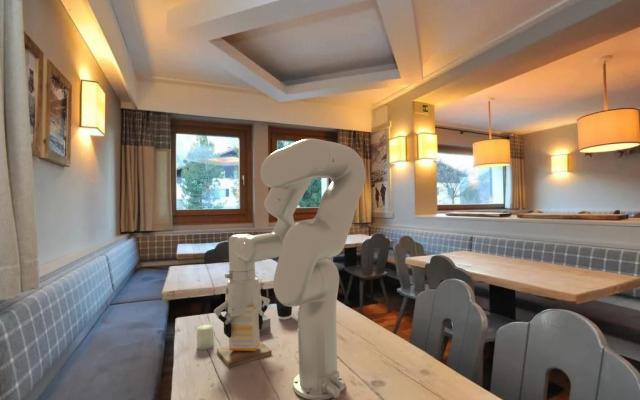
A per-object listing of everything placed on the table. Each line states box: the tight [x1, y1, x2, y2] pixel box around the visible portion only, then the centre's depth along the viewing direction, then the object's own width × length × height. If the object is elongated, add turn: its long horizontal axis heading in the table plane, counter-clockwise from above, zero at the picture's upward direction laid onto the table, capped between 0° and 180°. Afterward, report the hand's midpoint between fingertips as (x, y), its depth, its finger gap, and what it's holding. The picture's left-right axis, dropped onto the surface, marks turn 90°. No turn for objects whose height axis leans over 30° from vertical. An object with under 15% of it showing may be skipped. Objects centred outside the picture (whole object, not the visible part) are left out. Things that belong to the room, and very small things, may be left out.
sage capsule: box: [196, 324, 215, 351], centre depth 104 cm, size 5×5×6 cm
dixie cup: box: [274, 294, 293, 320], centre depth 129 cm, size 8×8×11 cm
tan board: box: [216, 340, 273, 369], centre depth 99 cm, size 11×13×1 cm
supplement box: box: [228, 305, 261, 351], centre depth 98 cm, size 8×5×13 cm, turn 83°
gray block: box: [259, 314, 272, 337], centre depth 115 cm, size 6×5×5 cm
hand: (243, 331), depth 99 cm, fingers open, 9 cm apart
